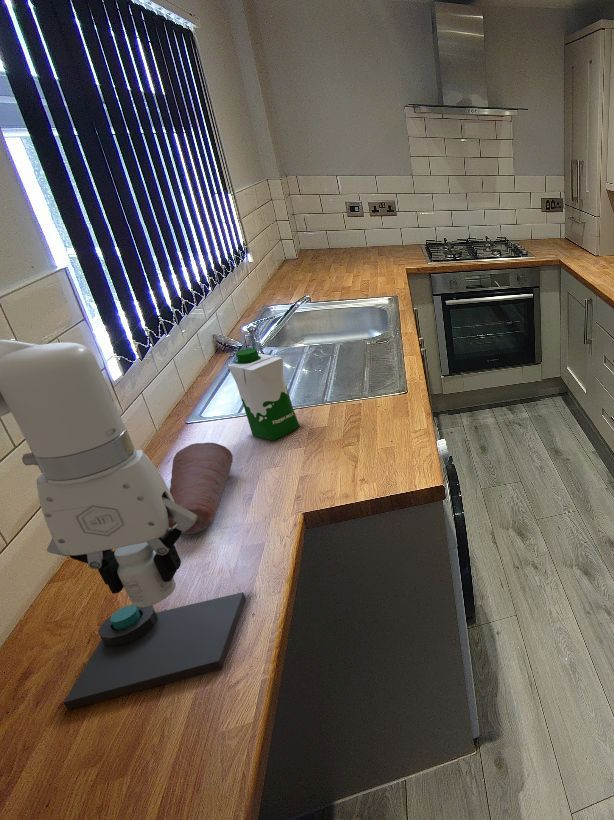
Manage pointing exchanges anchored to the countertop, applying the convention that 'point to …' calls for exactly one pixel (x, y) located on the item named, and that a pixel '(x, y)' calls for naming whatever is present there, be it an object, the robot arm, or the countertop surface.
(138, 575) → the pill bottle
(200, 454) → the food
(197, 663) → the scale
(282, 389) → the milk carton
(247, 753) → the countertop surface
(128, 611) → the button
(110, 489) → the robot arm
